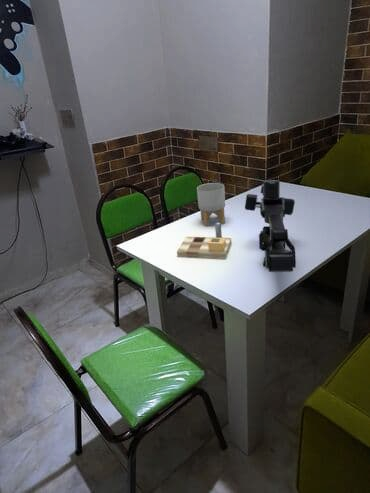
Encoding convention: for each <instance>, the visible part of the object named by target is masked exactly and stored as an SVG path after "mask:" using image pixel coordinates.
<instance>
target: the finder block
mask: <svg viewBox="0 0 370 493" xmlns="http://www.w3.org/2000/svg"><path fill="white" fill-rule="evenodd" d="M225 238H226V237H222V238H210V240H209V242H208V248H209V251H222V252H224V249H225V246H226V241H225Z"/></svg>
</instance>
